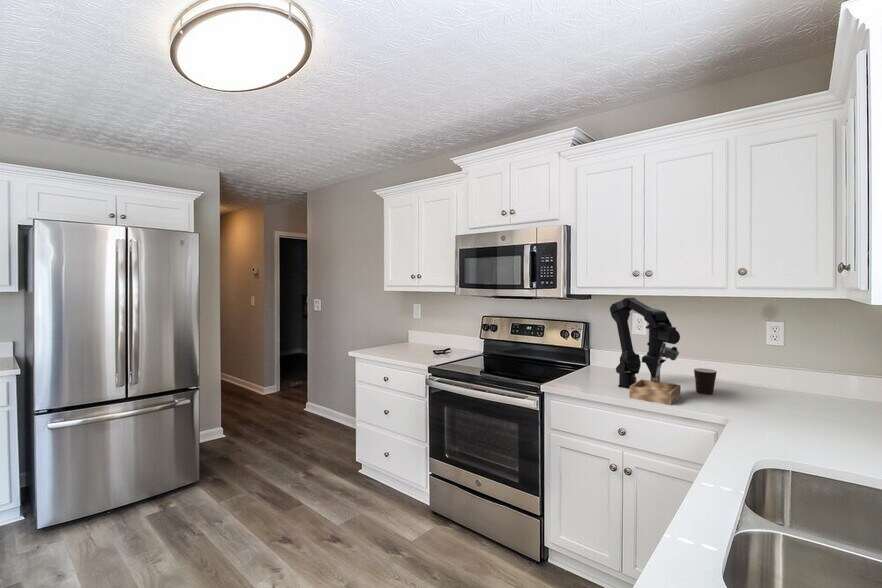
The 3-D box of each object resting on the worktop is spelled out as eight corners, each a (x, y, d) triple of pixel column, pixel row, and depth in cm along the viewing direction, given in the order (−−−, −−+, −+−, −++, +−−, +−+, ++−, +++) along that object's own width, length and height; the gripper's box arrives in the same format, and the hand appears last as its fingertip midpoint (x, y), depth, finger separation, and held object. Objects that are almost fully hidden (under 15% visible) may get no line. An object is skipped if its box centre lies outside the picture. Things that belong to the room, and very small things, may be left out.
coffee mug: (711, 396, 191) (712, 373, 191) (690, 392, 198) (690, 370, 197) (721, 392, 198) (722, 369, 198) (700, 388, 205) (701, 366, 205)
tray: (629, 397, 189) (629, 386, 189) (640, 390, 202) (641, 379, 201) (670, 405, 179) (671, 392, 179) (680, 396, 191) (680, 385, 191)
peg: (649, 381, 190) (649, 363, 189) (651, 380, 193) (652, 361, 192) (658, 383, 188) (659, 364, 187) (660, 381, 190) (661, 362, 190)
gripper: (671, 345, 177) (670, 384, 178) (682, 339, 191) (681, 375, 192) (641, 342, 184) (640, 379, 185) (654, 337, 198) (653, 372, 199)
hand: (655, 376), depth 190 cm, fingers closed on peg, 4 cm apart
